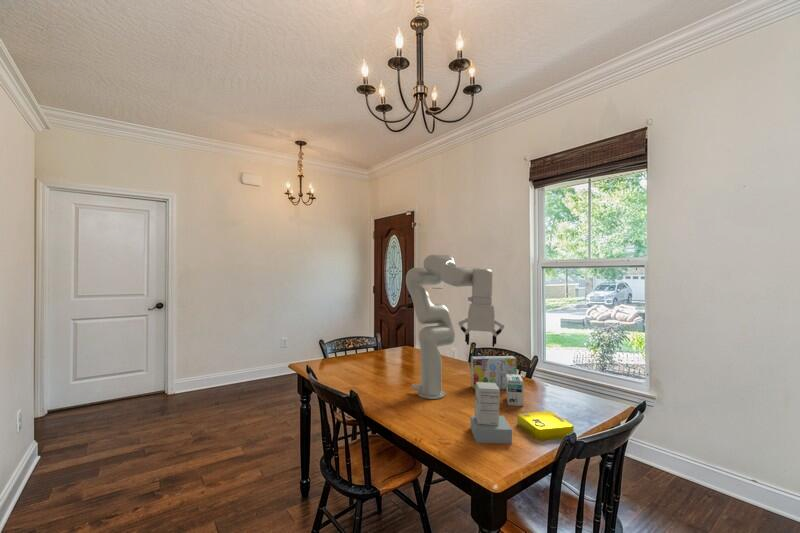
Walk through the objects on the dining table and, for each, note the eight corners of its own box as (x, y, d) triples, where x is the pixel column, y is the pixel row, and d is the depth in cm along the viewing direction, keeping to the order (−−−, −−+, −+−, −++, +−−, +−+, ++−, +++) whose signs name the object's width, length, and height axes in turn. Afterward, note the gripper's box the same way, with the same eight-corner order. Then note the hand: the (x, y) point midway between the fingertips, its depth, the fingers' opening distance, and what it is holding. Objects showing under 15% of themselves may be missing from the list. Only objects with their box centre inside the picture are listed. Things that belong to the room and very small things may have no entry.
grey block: (476, 444, 129) (476, 429, 129) (470, 429, 141) (470, 415, 141) (512, 444, 129) (512, 429, 129) (503, 429, 141) (503, 415, 141)
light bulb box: (524, 406, 163) (524, 381, 163) (507, 405, 164) (507, 380, 164) (521, 398, 173) (521, 374, 173) (505, 397, 175) (505, 373, 175)
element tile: (576, 438, 134) (576, 424, 134) (537, 442, 131) (537, 428, 131) (550, 421, 148) (550, 409, 148) (515, 424, 145) (515, 412, 145)
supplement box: (474, 416, 140) (475, 381, 140) (494, 417, 140) (496, 382, 139) (477, 424, 133) (478, 388, 132) (499, 425, 132) (500, 389, 132)
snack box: (513, 385, 192) (513, 355, 192) (516, 389, 186) (516, 358, 186) (470, 386, 191) (470, 355, 191) (473, 389, 185) (473, 358, 185)
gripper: (458, 300, 147) (456, 345, 147) (505, 303, 142) (503, 349, 143) (460, 298, 154) (459, 341, 154) (504, 301, 149) (503, 344, 150)
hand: (480, 345), depth 148 cm, fingers open, 9 cm apart
